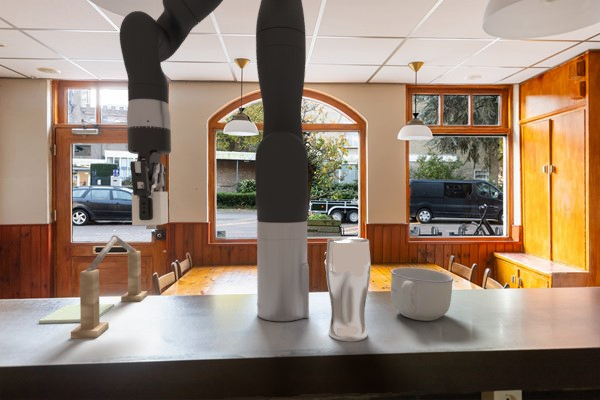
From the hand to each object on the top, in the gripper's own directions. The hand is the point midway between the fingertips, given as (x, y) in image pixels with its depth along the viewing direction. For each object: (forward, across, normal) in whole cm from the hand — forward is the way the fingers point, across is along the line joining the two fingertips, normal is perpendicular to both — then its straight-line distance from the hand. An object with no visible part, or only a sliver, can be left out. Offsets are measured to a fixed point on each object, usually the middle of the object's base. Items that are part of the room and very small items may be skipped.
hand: (151, 218), depth 71 cm
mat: (+17, 0, +13) cm, 22 cm away
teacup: (+18, -7, -48) cm, 52 cm away
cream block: (+1, 0, 0) cm, 1 cm away
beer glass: (+18, -14, -34) cm, 41 cm away
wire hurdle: (+18, 0, +7) cm, 19 cm away
